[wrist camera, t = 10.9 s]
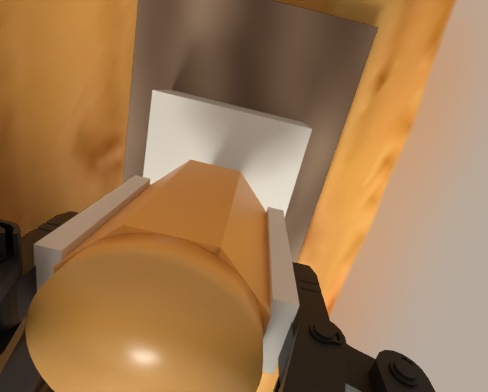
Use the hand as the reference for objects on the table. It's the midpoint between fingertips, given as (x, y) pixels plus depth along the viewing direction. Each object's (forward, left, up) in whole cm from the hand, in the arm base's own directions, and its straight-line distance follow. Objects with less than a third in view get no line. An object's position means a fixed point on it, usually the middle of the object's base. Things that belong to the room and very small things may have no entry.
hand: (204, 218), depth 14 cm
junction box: (0, 0, -9) cm, 9 cm away
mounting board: (0, 0, -11) cm, 11 cm away
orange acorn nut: (0, 0, 0) cm, 0 cm away
